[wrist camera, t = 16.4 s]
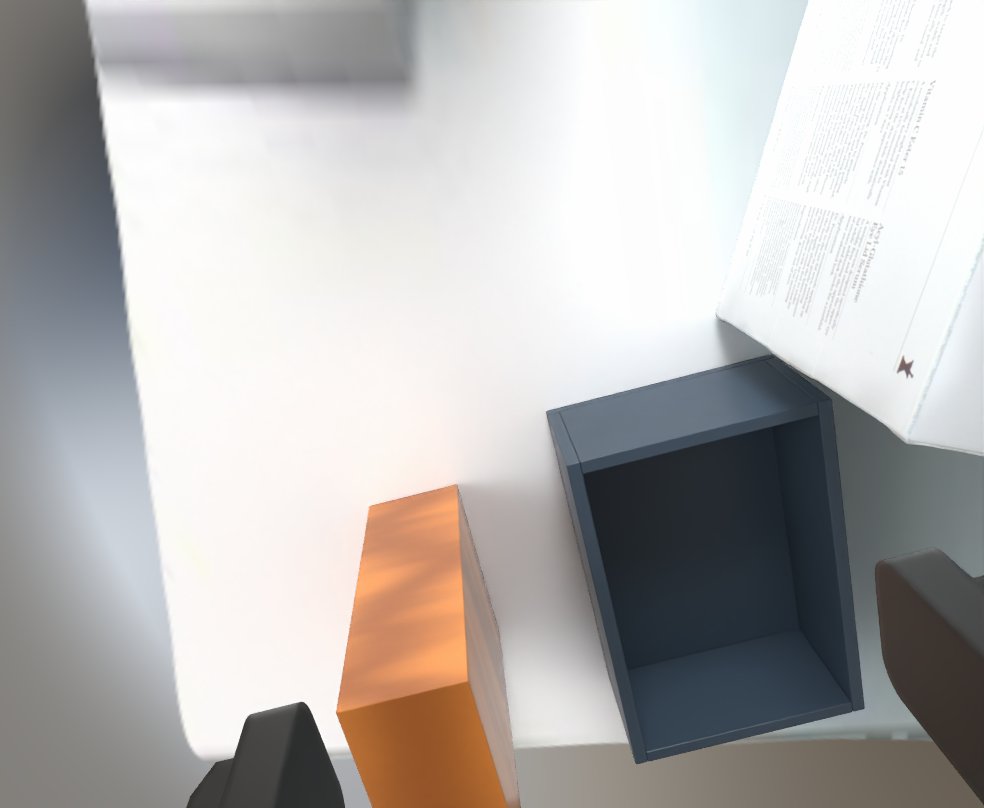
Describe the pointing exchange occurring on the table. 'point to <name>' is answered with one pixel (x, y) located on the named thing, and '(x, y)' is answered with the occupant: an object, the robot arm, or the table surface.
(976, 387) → the skincare box
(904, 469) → the table surface
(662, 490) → the tote
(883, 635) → the robot arm
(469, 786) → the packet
